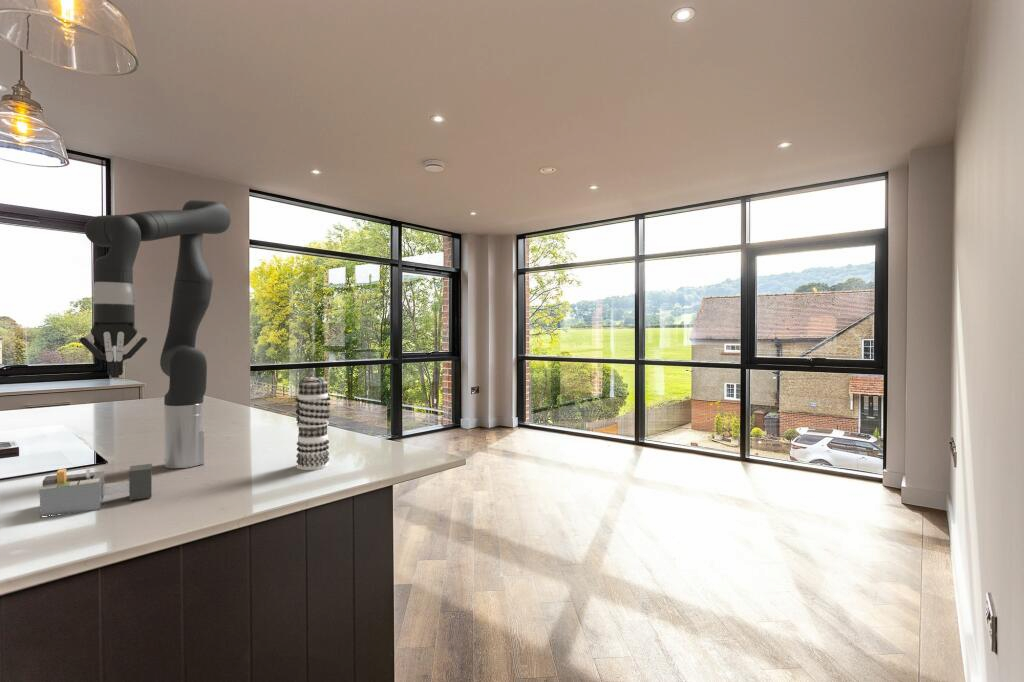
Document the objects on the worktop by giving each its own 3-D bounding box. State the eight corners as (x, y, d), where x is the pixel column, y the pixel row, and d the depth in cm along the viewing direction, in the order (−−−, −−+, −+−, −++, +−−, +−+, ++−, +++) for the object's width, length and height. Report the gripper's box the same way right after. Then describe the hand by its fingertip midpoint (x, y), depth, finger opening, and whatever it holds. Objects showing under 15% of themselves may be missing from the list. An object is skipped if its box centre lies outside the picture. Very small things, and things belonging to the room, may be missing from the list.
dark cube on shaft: (151, 491, 120) (151, 459, 120) (151, 497, 116) (151, 464, 116) (88, 499, 114) (88, 466, 114) (85, 506, 110) (85, 471, 109)
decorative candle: (326, 469, 141) (327, 379, 140) (291, 470, 139) (291, 379, 138) (333, 461, 150) (333, 375, 149) (299, 462, 148) (300, 375, 147)
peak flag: (66, 500, 111) (66, 468, 111) (64, 504, 108) (64, 471, 108) (59, 501, 110) (58, 469, 110) (57, 505, 108) (56, 472, 108)
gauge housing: (104, 496, 117) (104, 466, 117) (100, 509, 109) (99, 477, 109) (49, 503, 112) (48, 472, 112) (40, 518, 104) (39, 484, 103)
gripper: (149, 304, 125) (150, 375, 126) (79, 302, 118) (80, 377, 118) (149, 303, 119) (149, 377, 119) (74, 301, 112) (75, 380, 112)
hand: (115, 377), depth 119 cm, fingers closed
